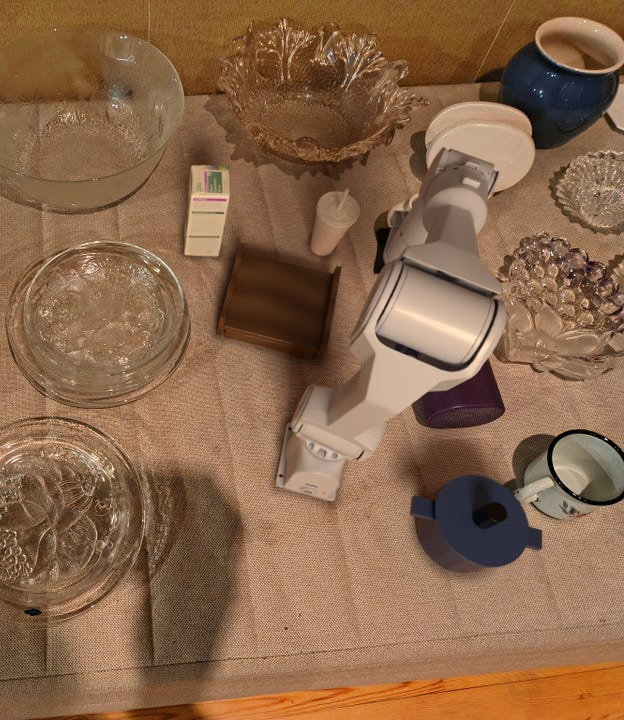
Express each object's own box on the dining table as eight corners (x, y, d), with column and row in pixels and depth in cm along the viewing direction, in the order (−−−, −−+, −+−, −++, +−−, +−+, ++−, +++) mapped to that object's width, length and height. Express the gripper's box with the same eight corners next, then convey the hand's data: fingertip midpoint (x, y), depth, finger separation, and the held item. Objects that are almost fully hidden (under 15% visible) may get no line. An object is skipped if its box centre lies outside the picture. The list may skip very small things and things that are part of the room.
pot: (514, 589, 84) (545, 580, 78) (391, 554, 85) (412, 542, 79) (516, 512, 88) (545, 498, 82) (399, 480, 90) (419, 464, 84)
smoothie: (298, 256, 106) (322, 197, 94) (305, 226, 109) (329, 165, 97) (337, 267, 106) (367, 209, 93) (344, 236, 108) (373, 176, 96)
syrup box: (219, 257, 106) (233, 195, 93) (182, 256, 106) (190, 194, 93) (218, 228, 108) (231, 165, 95) (182, 227, 108) (190, 163, 95)
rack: (318, 361, 98) (328, 345, 93) (215, 334, 99) (220, 317, 95) (332, 285, 104) (341, 266, 100) (235, 261, 106) (240, 242, 101)
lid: (523, 580, 78) (546, 573, 74) (428, 553, 79) (445, 545, 75) (524, 491, 83) (546, 480, 79) (435, 466, 84) (451, 454, 80)
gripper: (468, 288, 76) (420, 343, 88) (447, 189, 82) (405, 253, 94) (406, 285, 76) (367, 341, 88) (390, 186, 82) (356, 251, 94)
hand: (383, 295), depth 91 cm, fingers open, 7 cm apart
